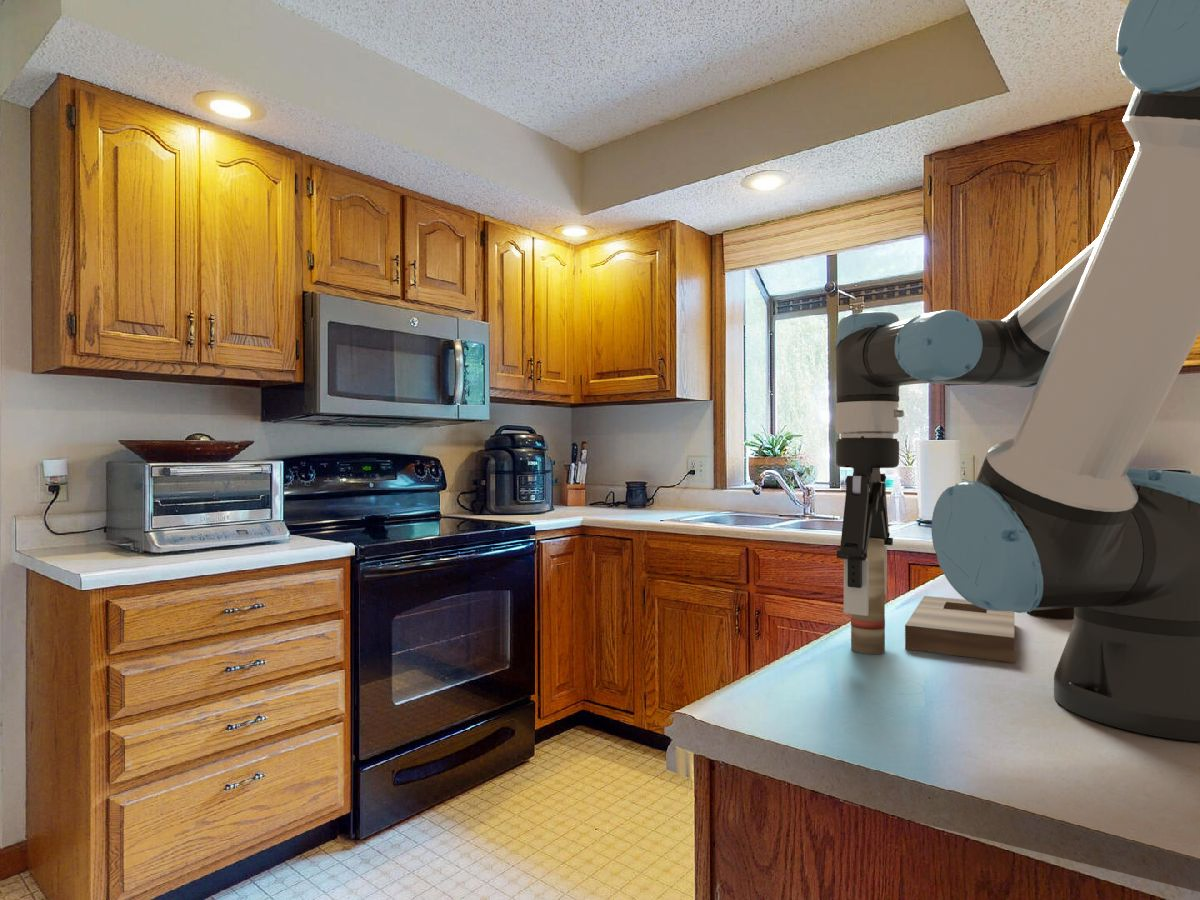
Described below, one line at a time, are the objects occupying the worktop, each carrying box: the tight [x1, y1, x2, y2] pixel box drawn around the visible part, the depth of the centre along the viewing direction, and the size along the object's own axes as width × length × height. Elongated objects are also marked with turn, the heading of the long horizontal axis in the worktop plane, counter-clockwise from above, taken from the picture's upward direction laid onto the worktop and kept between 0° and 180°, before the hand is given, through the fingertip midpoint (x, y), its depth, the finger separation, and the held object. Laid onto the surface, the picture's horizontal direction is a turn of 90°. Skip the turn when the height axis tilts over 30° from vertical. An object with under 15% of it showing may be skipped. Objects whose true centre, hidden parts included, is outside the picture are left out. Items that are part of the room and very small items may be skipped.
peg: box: [850, 538, 886, 655], centre depth 89 cm, size 4×4×14 cm
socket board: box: [904, 595, 1015, 664], centre depth 95 cm, size 22×12×3 cm, turn 149°
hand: (866, 603), depth 89 cm, fingers open, 13 cm apart
